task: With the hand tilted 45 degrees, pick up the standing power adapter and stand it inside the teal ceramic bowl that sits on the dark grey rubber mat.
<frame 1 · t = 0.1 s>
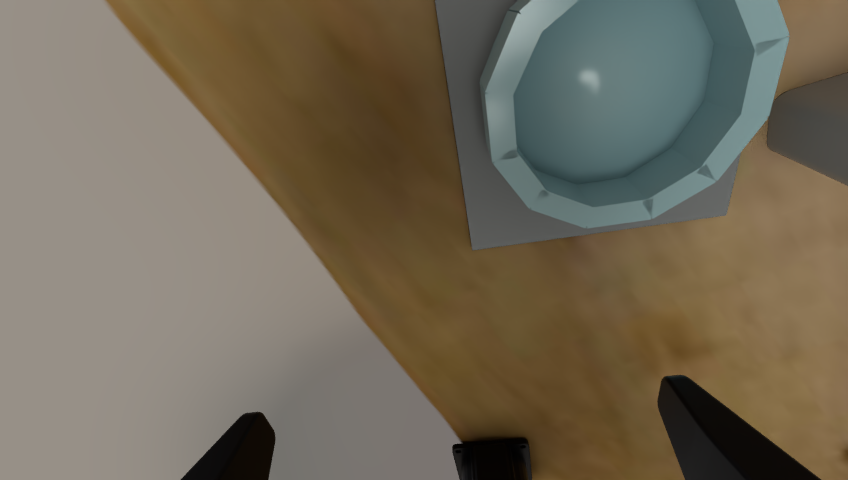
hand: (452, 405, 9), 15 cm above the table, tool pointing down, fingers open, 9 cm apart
bowl: (599, 89, 19), resting on mat
power adapter: (827, 107, 19), on the table
mat: (596, 108, 19), on the table
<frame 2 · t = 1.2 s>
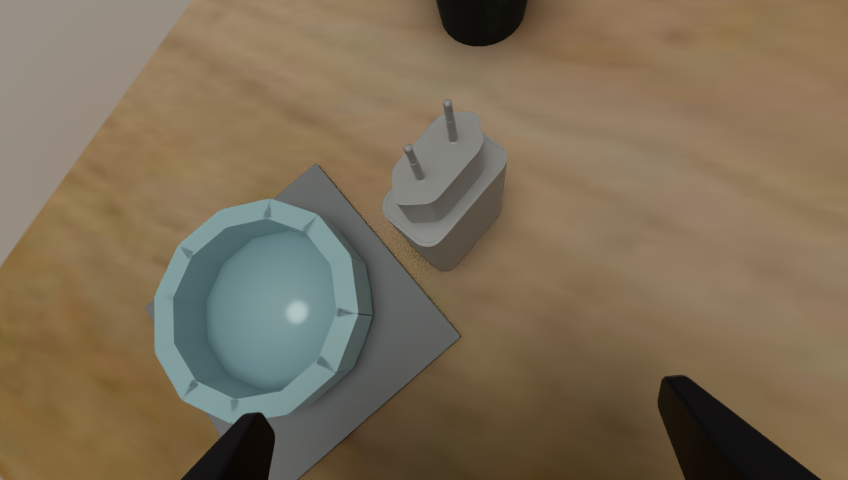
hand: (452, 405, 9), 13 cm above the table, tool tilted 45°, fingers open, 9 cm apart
bowl: (282, 307, 24), resting on mat
power adapter: (456, 226, 24), on the table
mat: (294, 321, 24), on the table
cup: (482, 12, 27), on the table
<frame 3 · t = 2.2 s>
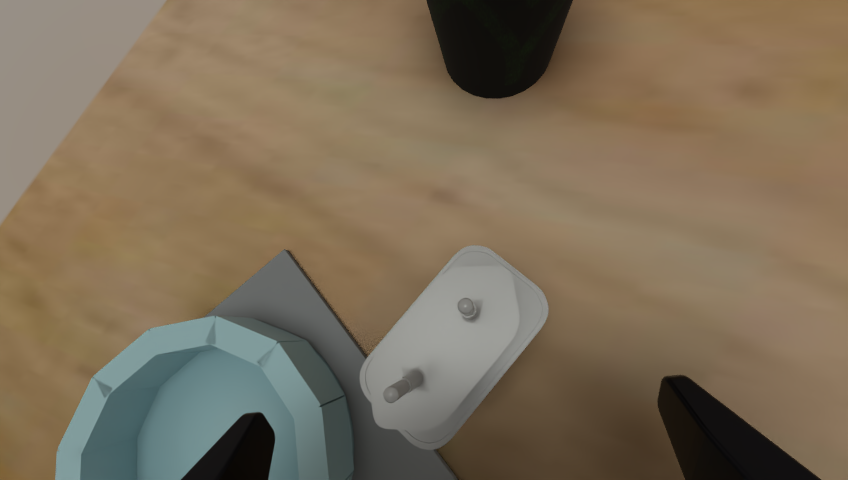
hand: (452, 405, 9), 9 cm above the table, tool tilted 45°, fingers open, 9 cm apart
bowl: (236, 447, 18), resting on mat
power adapter: (465, 338, 18), on the table
mat: (253, 464, 18), on the table
cup: (496, 53, 21), on the table
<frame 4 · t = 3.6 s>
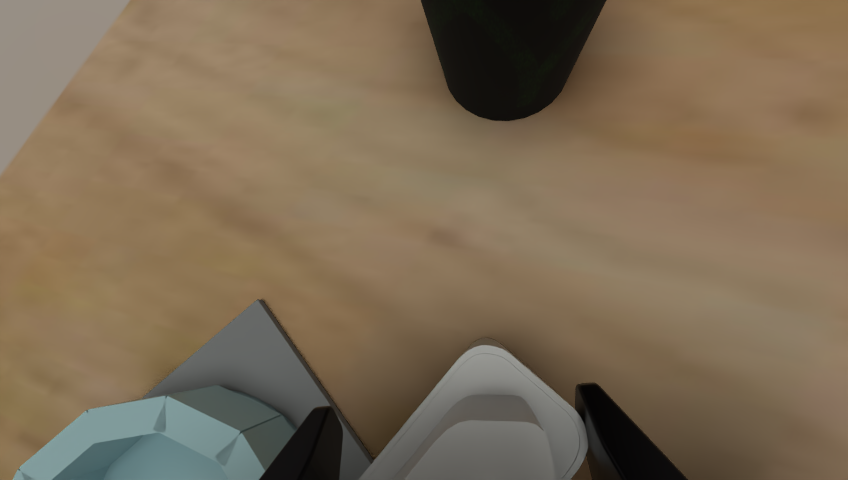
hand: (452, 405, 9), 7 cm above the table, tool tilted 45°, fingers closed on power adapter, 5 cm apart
power adapter: (470, 411, 15), on the table, touching gripper
cup: (505, 67, 18), on the table
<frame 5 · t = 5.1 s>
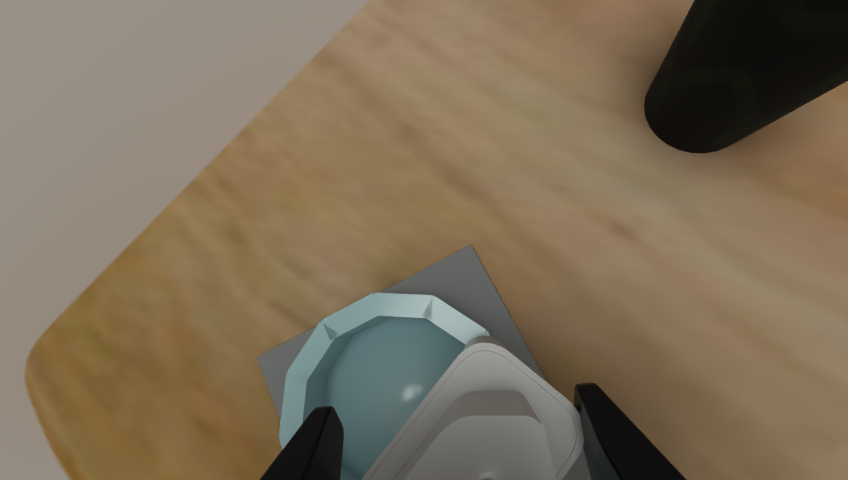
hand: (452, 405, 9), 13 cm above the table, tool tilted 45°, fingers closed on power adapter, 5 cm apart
bowl: (408, 402, 21), resting on mat
power adapter: (470, 408, 15), point 6 cm above the table, touching gripper
mat: (417, 418, 21), on the table
cup: (695, 109, 23), on the table
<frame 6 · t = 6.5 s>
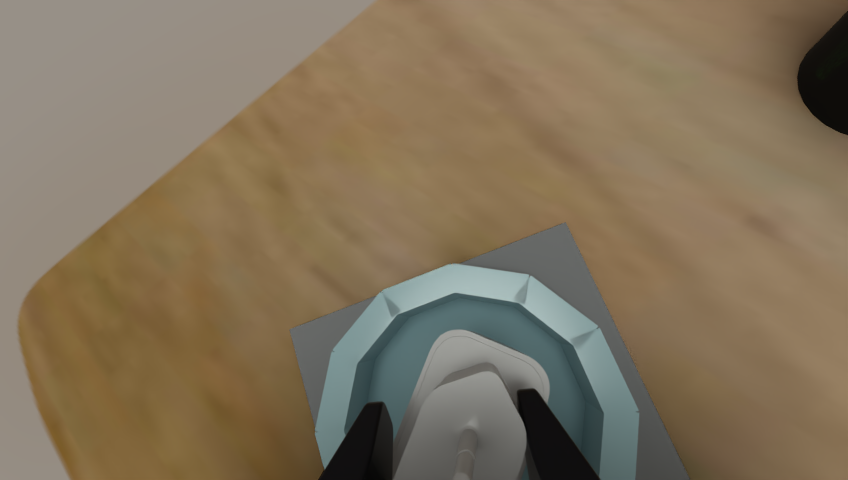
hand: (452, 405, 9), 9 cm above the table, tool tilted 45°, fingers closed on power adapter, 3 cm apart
bowl: (471, 406, 17), resting on mat
power adapter: (470, 400, 17), point 1 cm above the table, touching gripper
mat: (480, 427, 17), on the table
when the fingers open (9 cm above the table, at t = 6.6 s): power adapter stays where it is, resting on bowl.
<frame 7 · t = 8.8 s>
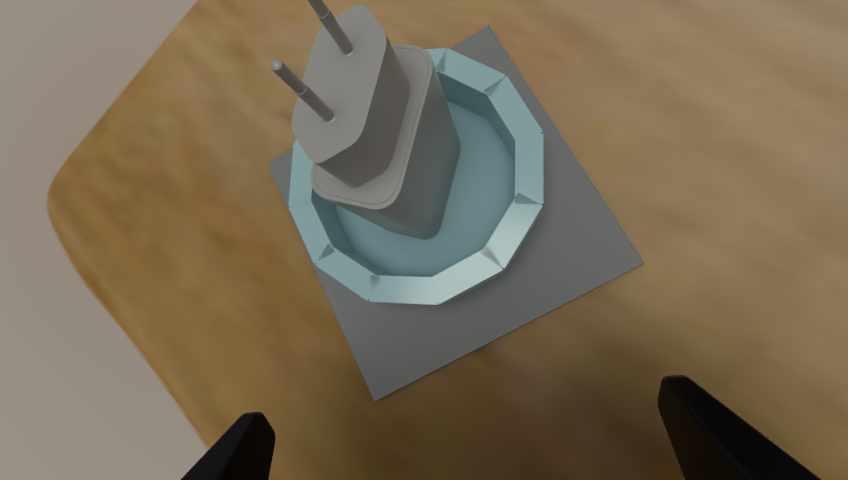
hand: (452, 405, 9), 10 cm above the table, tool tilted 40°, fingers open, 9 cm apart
bowl: (424, 190, 20), resting on mat
power adapter: (421, 183, 20), point 1 cm above the table, touching bowl
mat: (434, 209, 20), on the table
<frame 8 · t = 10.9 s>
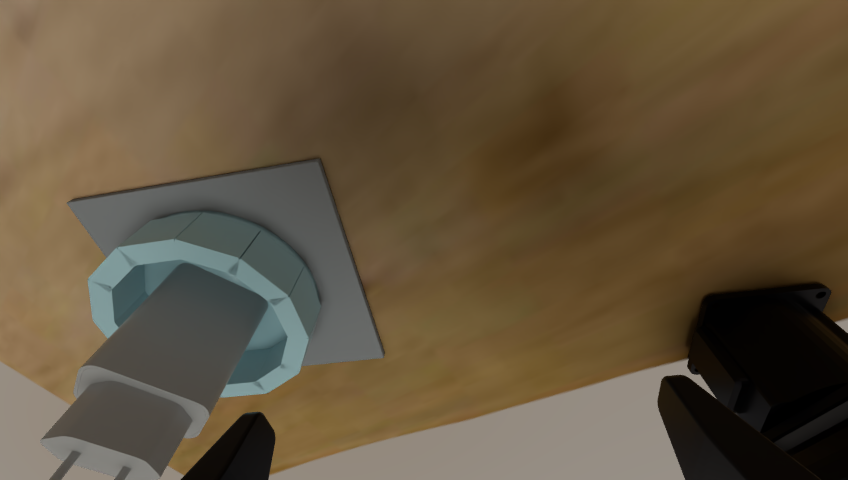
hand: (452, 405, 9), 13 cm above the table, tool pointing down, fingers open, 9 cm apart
bowl: (228, 291, 24), resting on mat
power adapter: (220, 295, 24), point 1 cm above the table, touching bowl
mat: (246, 285, 24), on the table
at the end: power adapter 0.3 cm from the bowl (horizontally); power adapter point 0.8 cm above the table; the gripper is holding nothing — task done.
